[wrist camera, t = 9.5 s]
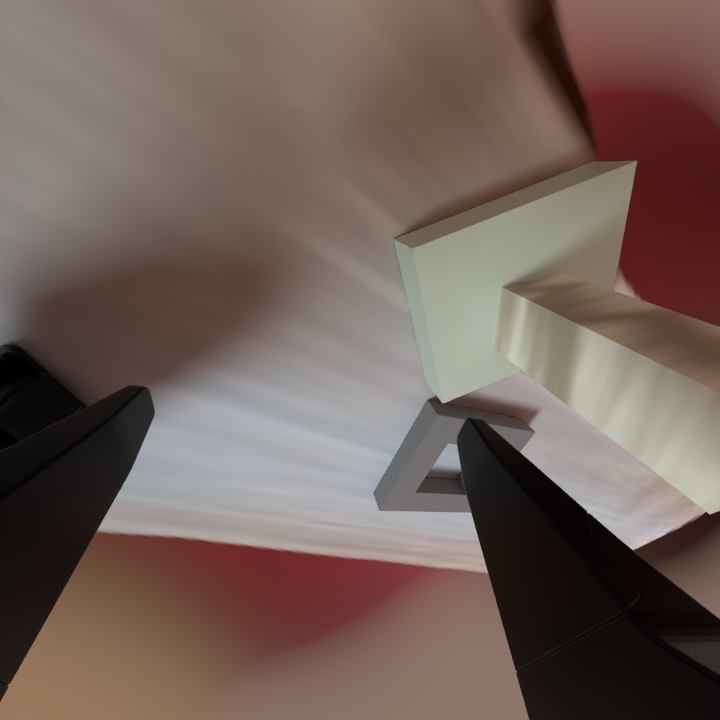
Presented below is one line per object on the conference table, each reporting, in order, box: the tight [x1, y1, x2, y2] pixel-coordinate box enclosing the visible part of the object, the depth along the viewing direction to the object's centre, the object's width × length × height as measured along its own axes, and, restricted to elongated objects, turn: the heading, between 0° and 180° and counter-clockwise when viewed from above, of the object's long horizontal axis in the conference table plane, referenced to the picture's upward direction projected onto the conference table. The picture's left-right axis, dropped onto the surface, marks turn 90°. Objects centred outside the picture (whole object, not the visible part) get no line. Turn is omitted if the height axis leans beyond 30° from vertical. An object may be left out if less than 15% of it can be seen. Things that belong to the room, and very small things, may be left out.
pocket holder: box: [374, 400, 535, 512], centre depth 31 cm, size 12×12×2 cm
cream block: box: [493, 274, 720, 514], centre depth 16 cm, size 4×4×13 cm
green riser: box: [394, 161, 637, 403], centre depth 22 cm, size 14×12×3 cm
